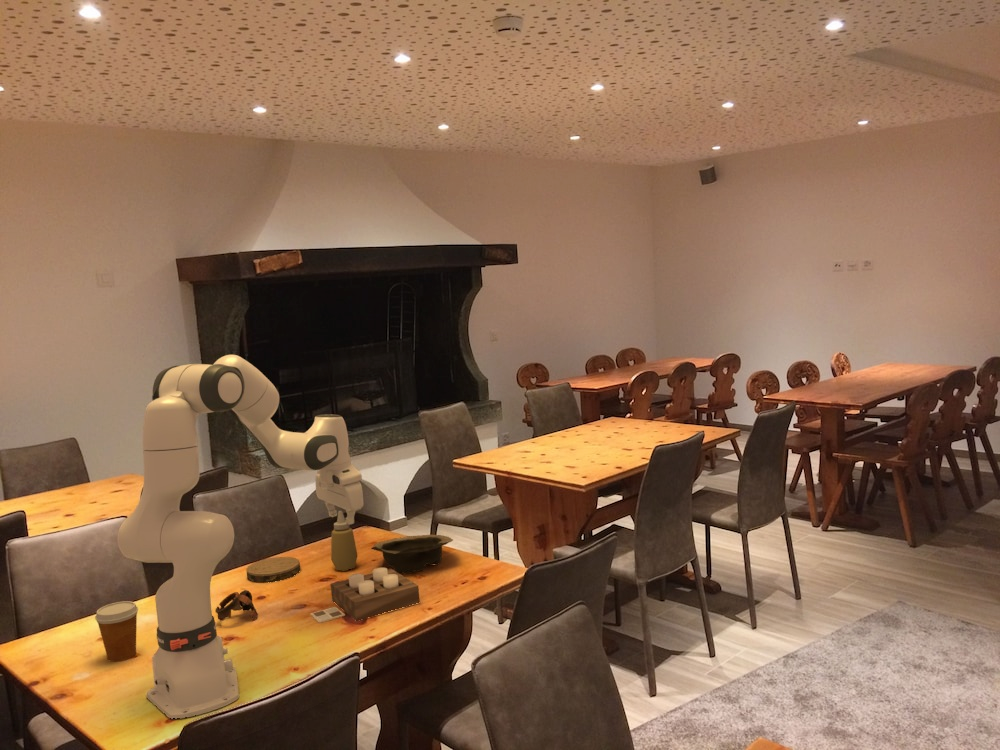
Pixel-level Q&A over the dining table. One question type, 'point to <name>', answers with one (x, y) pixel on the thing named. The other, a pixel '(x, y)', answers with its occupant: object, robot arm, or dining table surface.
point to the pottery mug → (236, 605)
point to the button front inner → (366, 587)
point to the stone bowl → (412, 551)
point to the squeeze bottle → (343, 545)
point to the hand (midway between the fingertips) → (341, 519)
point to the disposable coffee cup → (118, 629)
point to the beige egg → (379, 574)
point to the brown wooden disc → (273, 569)
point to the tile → (327, 614)
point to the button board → (374, 597)
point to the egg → (355, 580)
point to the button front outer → (390, 581)
